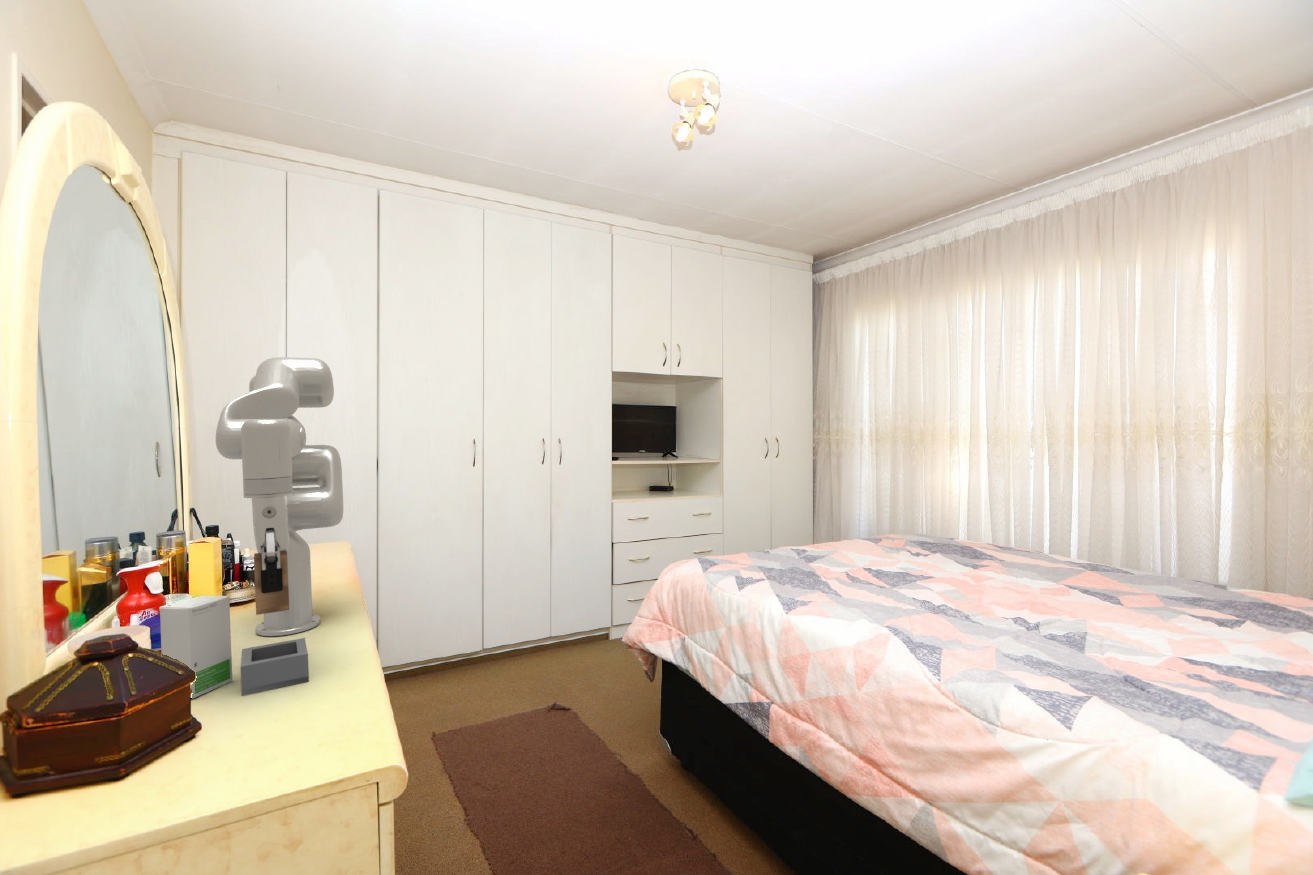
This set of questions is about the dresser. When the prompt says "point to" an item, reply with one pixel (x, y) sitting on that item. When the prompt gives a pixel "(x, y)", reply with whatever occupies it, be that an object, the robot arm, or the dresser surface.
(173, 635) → the skincare box
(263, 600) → the oak block
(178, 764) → the dresser surface
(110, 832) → the dresser surface
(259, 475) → the robot arm
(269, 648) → the grey well
